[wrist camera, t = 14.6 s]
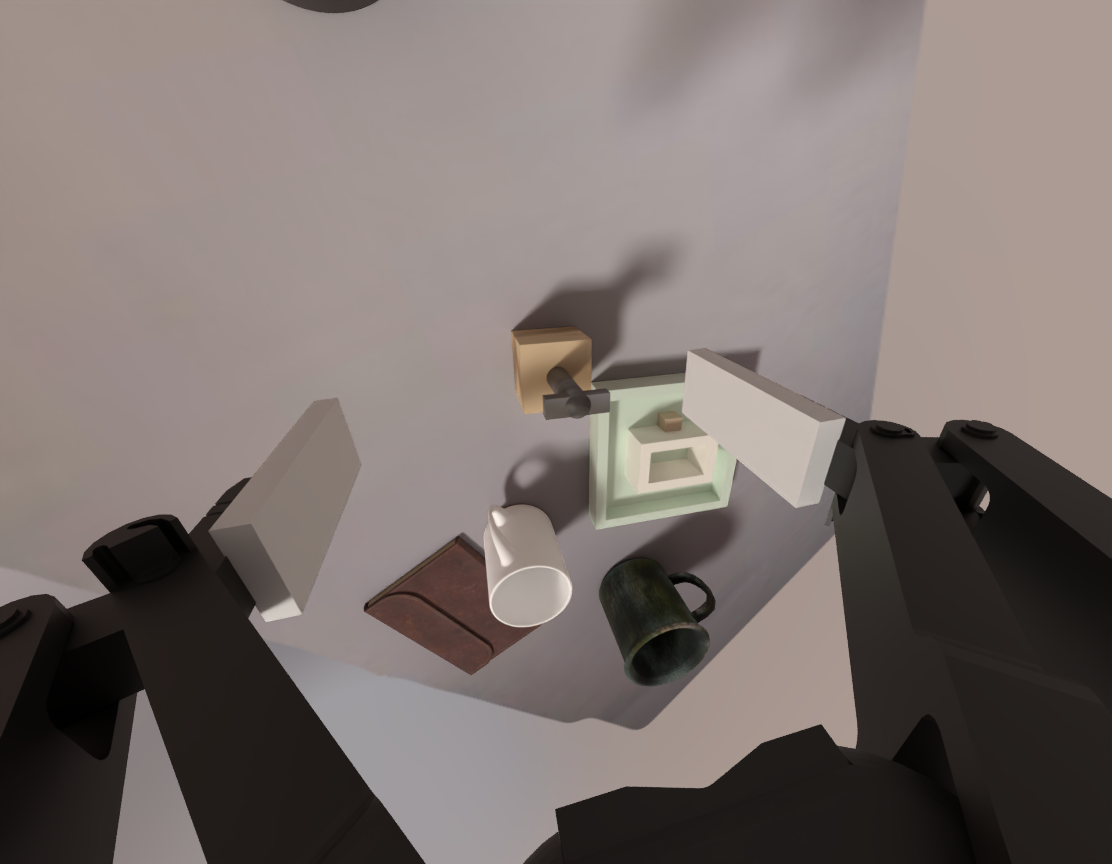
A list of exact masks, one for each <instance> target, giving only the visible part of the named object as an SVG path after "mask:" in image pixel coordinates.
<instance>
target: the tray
mask: <svg viewBox="0 0 1112 864" xmlns="http://www.w3.org/2000/svg"><path fill="white" fill-rule="evenodd" d="M685 375H686V373H678V374H668V375H658V376H649V377H639V378H629V379H620V380H610V381H600V382H591V390H595V389H604V388H606V389H607V390H608V391H609V392H610V412H608V413H600V414H591V415H590V461H589V516H590V518H591V520H592V522H593V524H594V526H595V529H596V530H597V529H603V528H608V527H614V526H620V525H626V524H631V523H637V522H643V521H648V520H654V519H660V518H665V517H671V516H677V515H682V514H688V513H694V512H699V511H705V510H711V509H716V508H722V507H727V505H728V500H729V495H730V490H731V485H732V480H733V475H734V470H735V465H736V460H737V458H735V457H734V456H733V455H732V454H731V453H729V452H728V451H727V450H726V449H725V448H723V447H722V446H721V445H720V444H718V450H717V455H716V461H715V467H714V472H713V478H712V482H708V483H702V484H696V485H689V486H683V487H677V488H671V489H665V490H659V491H652V492H646V493H640V494H637V492H636V491H635V489H634V488H633V487H632V485H631V484H630V482H629V481H628V479H627V478H626V477H625V462H626V445H627V429H630V428H638V427H646V426H654V425H657V420H658V413H659V412H667V411H675V412H676V413H678V414H679V415H680V416H681V417H683V418H682V422H685V421H691V420H690V419H689V418H687V417H686V416H685V415H684V414H683V413H682V406H683V396H684V385H685ZM687 452H688V448H682V449H675V450H667V451H660V452H653V453H651V459H650V463H657V462H664V461H671V460H677V459H684V458H687Z"/></svg>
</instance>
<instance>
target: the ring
mask: <svg viewBox="0 0 1112 864" xmlns="http://www.w3.org/2000/svg"><path fill="white" fill-rule="evenodd" d="M682 418H683V417H681V416H680V415H679V414H678V413H676V412H675V411H667V412H659V413H658V420H657V425H654V426H646V427H638V428H630V429H627V445H626V462H625V477H626V478H627V479H628V481H629V482H630V484H631V485H632V487H633V488H634V489H635V491H636V492H637V494H640V493H646V492H652V491H659V490H665V489H671V488H677V487H683V486H689V485H696V484H702V483H708V482H712V478H713V472H714V467H715V461H716V455H717V450H718V444H719V443H717V442H716V441H715V440H714V439H713V438H711V437H710V436H709V435H708V434H707V433H705V432H704V431H703V430H702V429H701V428H699V427H698V426H697V425H696V424H695V423H693V422H692V421H685V422H682ZM682 448H688V452H687V458H684V459H677V460H671V461H664V462H657V463H650V459H651V453H653V452H660V451H667V450H675V449H682Z"/></svg>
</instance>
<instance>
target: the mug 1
mask: <svg viewBox="0 0 1112 864" xmlns="http://www.w3.org/2000/svg"><path fill="white" fill-rule="evenodd" d="M492 515H493V516H492ZM488 518H489V522H488V524H487V526H486V528H485V532H484V549H485V560H486V571H487V582H488V593H489V604H490V609H491V611H492V613H493V615H494V616H495V617H496V618H497V619H498V620H499V621H501V622H502V623H504V624H507V625H510V626H514V627H530V626H536V625H539V624H542V623H545V622H547V621H549V620H551V619H553V618H554V617H556V616H557V615H558V614H559V613H561V612H562V611H563V610H564V609H565V607H566V606H567V605H568V603H569V601H570V599H571V596H572V583H571V580H570V577H569V574H568V571H567V568H566V565H565V562H564V559H563V556H562V553H561V550H560V547H559V544H558V541H557V538H556V535H555V532H554V529H553V526H552V523H551V521H550V519H549V518H548V516H547V515H546V514H545V513H544V512H543V511H542V510H540V509H538V508H536V507H534V506H531V505H524V504H522V505H513V506H509V507H507V508H504V509H503V508H502V507H500V506H498V505H492V506H490V507H489V509H488Z"/></svg>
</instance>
